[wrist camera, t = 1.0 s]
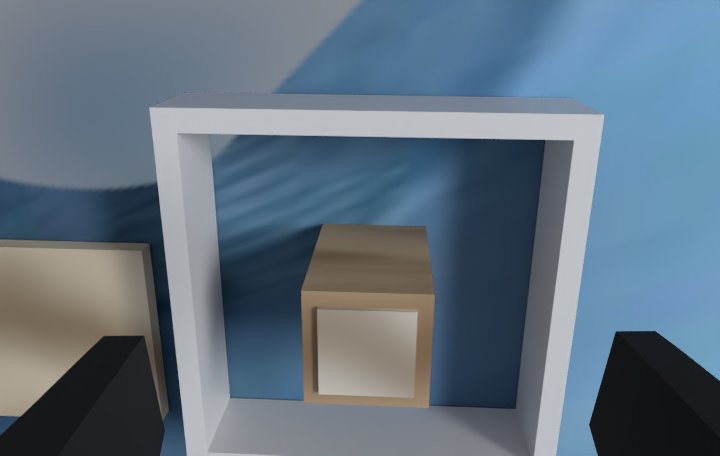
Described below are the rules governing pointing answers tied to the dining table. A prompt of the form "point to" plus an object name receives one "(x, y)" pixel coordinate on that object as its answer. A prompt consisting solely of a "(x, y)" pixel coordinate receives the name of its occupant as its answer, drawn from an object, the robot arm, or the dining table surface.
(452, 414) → the white square frame
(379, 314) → the oak block
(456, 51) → the dining table surface
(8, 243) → the birch pad
